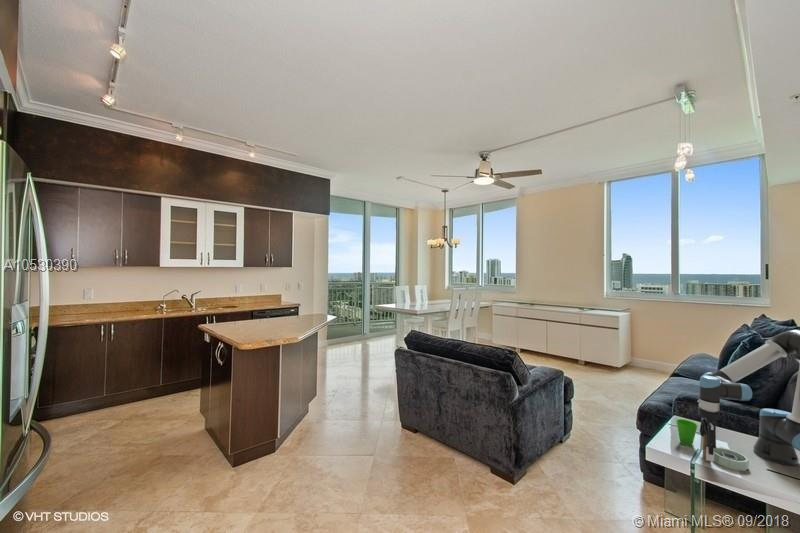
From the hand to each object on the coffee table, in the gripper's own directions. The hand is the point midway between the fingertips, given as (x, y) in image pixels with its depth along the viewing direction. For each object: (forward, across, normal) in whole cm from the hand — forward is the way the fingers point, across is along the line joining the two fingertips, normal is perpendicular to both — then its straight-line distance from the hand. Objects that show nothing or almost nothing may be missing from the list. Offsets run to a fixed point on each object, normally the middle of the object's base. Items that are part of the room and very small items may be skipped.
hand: (706, 455), depth 167 cm
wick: (+3, 0, 0) cm, 3 cm away
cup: (+3, -16, -5) cm, 17 cm away
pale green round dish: (+3, -4, +9) cm, 10 cm away
